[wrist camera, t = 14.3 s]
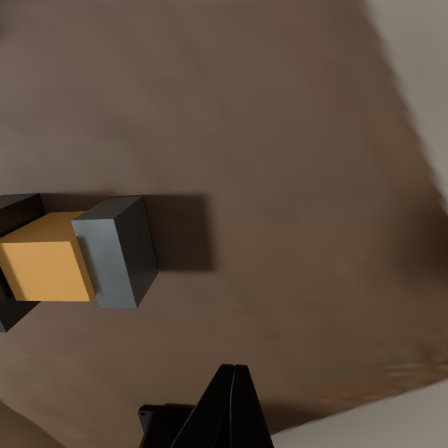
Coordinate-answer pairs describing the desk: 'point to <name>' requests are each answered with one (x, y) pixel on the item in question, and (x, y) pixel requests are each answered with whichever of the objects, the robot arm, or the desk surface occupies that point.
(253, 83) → the desk surface
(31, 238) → the block
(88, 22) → the desk surface
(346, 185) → the desk surface
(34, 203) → the block
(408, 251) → the desk surface
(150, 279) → the gray rectangular block
